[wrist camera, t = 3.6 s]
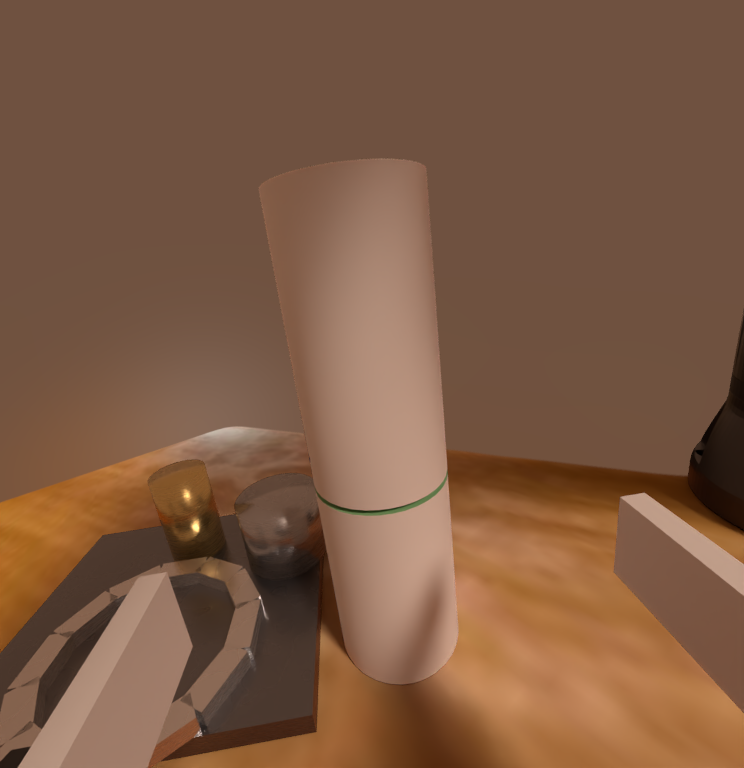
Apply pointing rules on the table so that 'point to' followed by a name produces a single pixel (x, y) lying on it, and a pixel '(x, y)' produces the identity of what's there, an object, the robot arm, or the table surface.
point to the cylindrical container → (371, 401)
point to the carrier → (194, 615)
